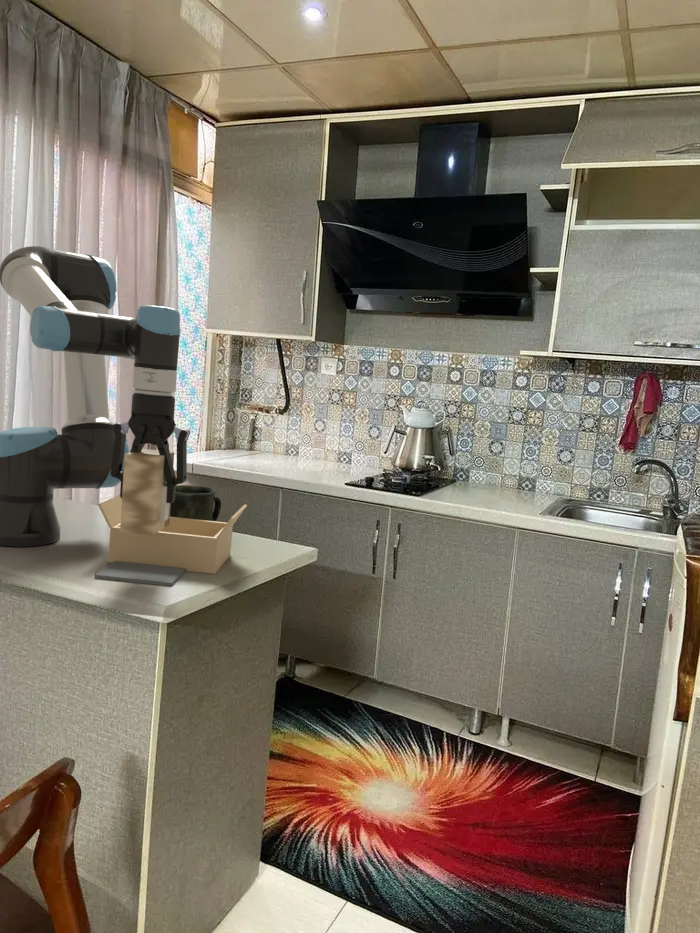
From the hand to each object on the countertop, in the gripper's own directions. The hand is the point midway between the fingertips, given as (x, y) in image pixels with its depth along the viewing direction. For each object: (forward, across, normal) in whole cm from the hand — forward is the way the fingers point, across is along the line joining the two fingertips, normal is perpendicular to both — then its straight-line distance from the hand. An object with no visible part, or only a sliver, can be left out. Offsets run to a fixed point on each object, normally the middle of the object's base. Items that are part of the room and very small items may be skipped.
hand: (146, 517), depth 131 cm
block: (+2, 0, 0) cm, 2 cm away
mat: (+11, 0, 0) cm, 11 cm away
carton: (+11, +2, +13) cm, 17 cm away
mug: (+11, +2, +30) cm, 32 cm away
